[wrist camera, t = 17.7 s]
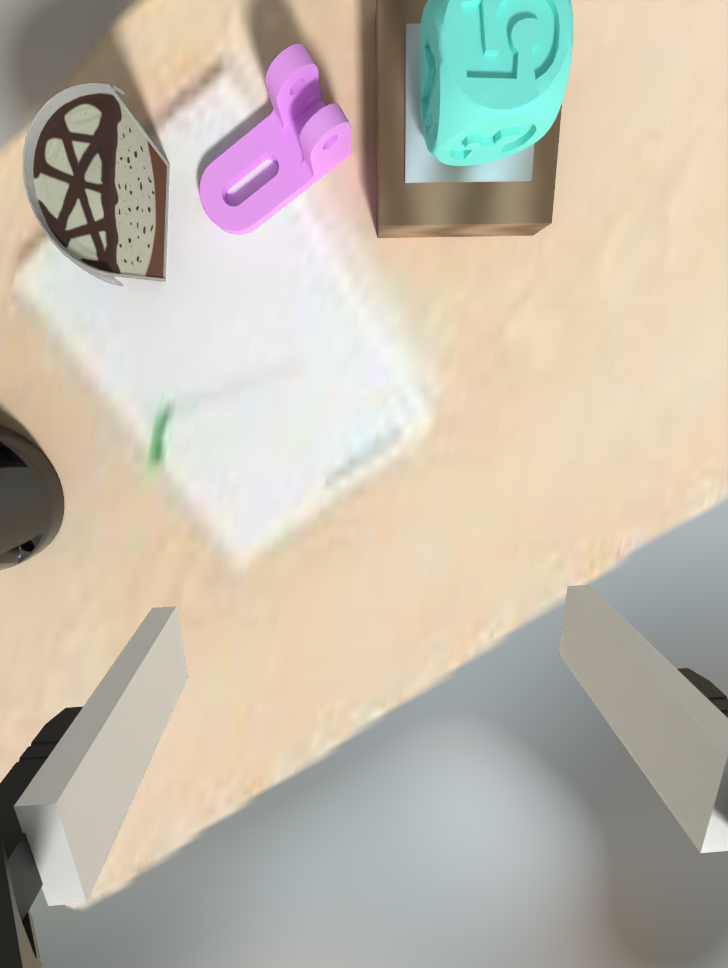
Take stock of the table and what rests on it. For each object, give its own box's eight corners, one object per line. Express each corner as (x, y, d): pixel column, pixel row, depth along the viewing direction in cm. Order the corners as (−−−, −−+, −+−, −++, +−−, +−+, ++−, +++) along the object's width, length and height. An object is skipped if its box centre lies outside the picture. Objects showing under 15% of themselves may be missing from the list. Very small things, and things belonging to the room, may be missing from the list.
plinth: (377, 237, 40) (380, 224, 36) (375, 14, 36) (378, -29, 32) (532, 235, 41) (553, 221, 37) (549, 13, 36) (575, -31, 32)
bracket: (312, 90, 38) (304, 33, 31) (351, 155, 39) (350, 113, 32) (191, 189, 39) (158, 155, 33) (231, 248, 41) (207, 227, 34)
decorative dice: (414, 50, 33) (432, -42, 26) (522, 31, 33) (573, -67, 25) (426, 174, 35) (445, 124, 28) (527, 157, 35) (576, 102, 28)
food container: (95, 130, 38) (8, 53, 28) (170, 144, 38) (108, 73, 29) (96, 287, 41) (17, 267, 32) (165, 298, 42) (108, 282, 32)
